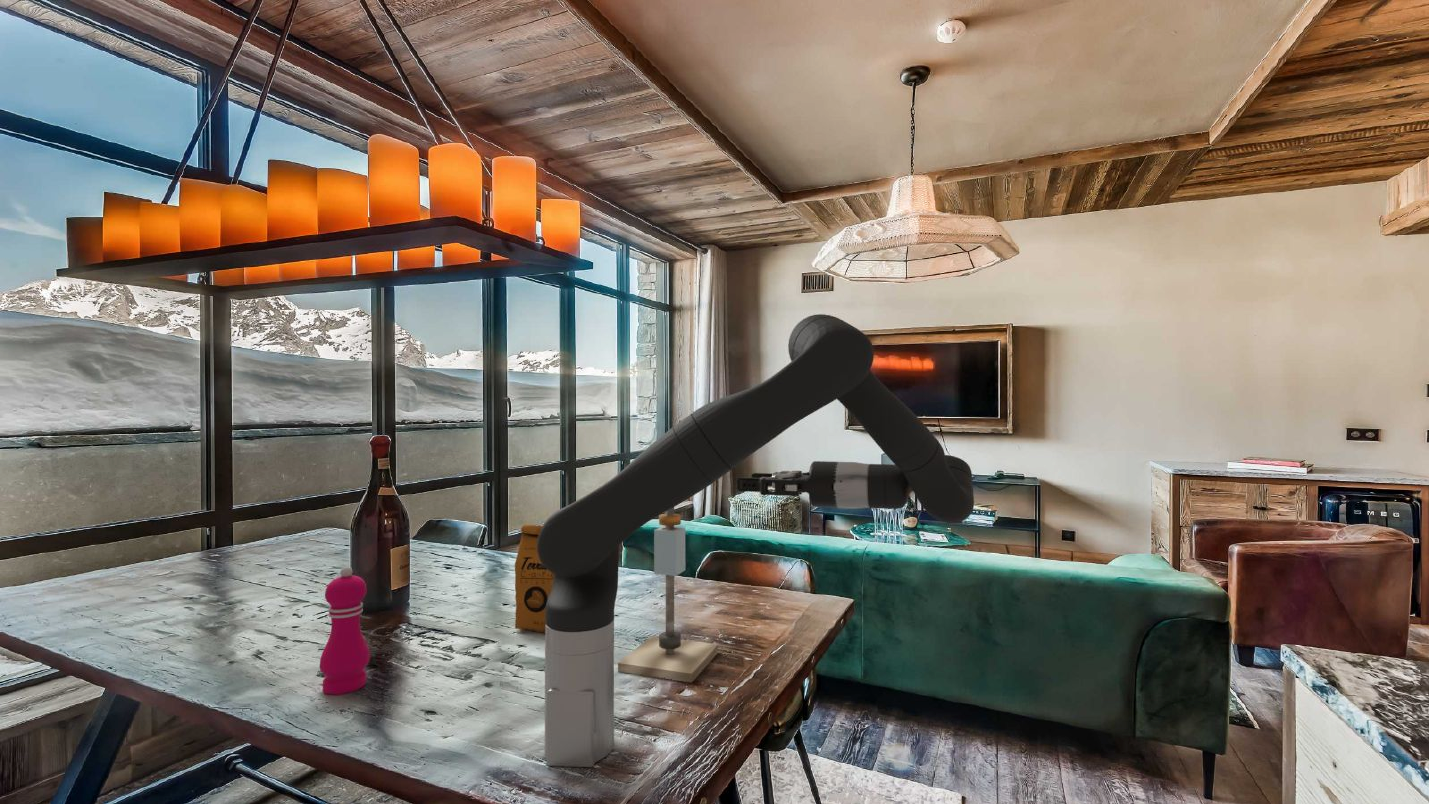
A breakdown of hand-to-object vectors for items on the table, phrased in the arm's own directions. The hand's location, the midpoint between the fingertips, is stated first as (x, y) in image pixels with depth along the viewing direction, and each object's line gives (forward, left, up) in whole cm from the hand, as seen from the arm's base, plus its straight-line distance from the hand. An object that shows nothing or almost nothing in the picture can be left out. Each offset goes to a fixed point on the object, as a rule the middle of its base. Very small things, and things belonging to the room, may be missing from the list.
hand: (745, 481), depth 104 cm
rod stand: (+8, +14, -34) cm, 38 cm away
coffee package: (+24, +43, -34) cm, 60 cm away
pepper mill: (-6, +67, -34) cm, 76 cm away
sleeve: (+8, +14, -18) cm, 24 cm away
